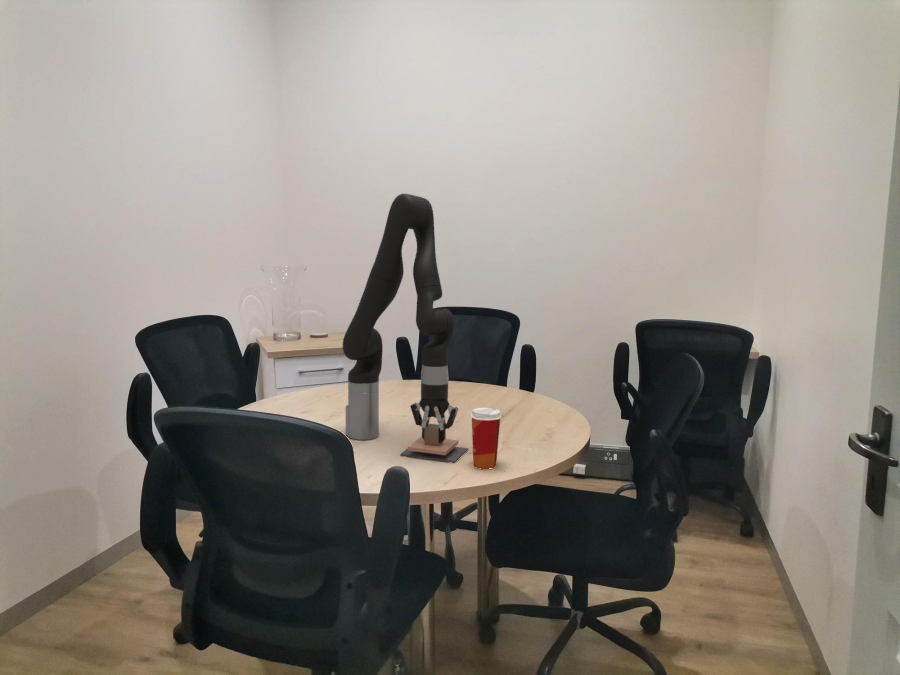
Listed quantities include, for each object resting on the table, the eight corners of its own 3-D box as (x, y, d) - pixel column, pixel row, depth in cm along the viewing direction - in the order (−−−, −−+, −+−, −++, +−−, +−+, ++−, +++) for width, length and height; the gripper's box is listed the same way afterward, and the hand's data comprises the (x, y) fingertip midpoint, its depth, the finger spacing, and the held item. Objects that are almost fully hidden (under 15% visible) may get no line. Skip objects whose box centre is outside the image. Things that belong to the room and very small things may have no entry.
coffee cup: (481, 458, 170) (482, 405, 168) (506, 465, 164) (507, 410, 162) (462, 466, 163) (463, 411, 161) (487, 473, 158) (489, 416, 156)
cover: (407, 450, 169) (407, 429, 168) (422, 439, 179) (422, 419, 179) (445, 455, 165) (445, 433, 165) (458, 443, 176) (458, 423, 175)
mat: (400, 455, 171) (400, 453, 170) (416, 443, 182) (416, 441, 182) (454, 463, 165) (454, 461, 165) (468, 450, 177) (468, 448, 177)
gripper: (405, 381, 169) (405, 442, 171) (454, 385, 164) (453, 448, 166) (416, 376, 176) (415, 434, 178) (463, 380, 171) (461, 440, 173)
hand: (433, 440), depth 172 cm, fingers closed on cover, 4 cm apart
